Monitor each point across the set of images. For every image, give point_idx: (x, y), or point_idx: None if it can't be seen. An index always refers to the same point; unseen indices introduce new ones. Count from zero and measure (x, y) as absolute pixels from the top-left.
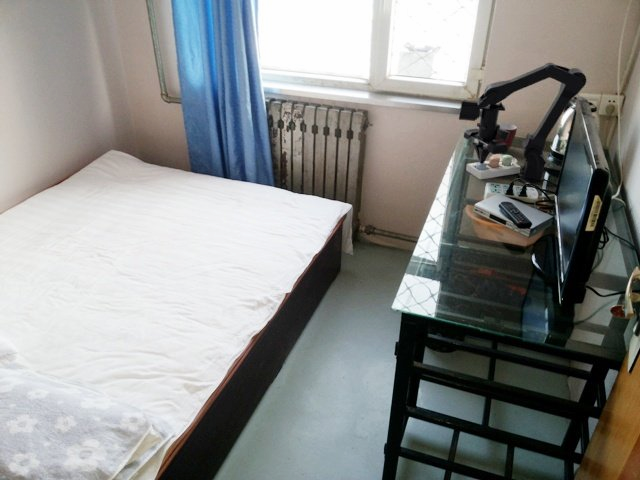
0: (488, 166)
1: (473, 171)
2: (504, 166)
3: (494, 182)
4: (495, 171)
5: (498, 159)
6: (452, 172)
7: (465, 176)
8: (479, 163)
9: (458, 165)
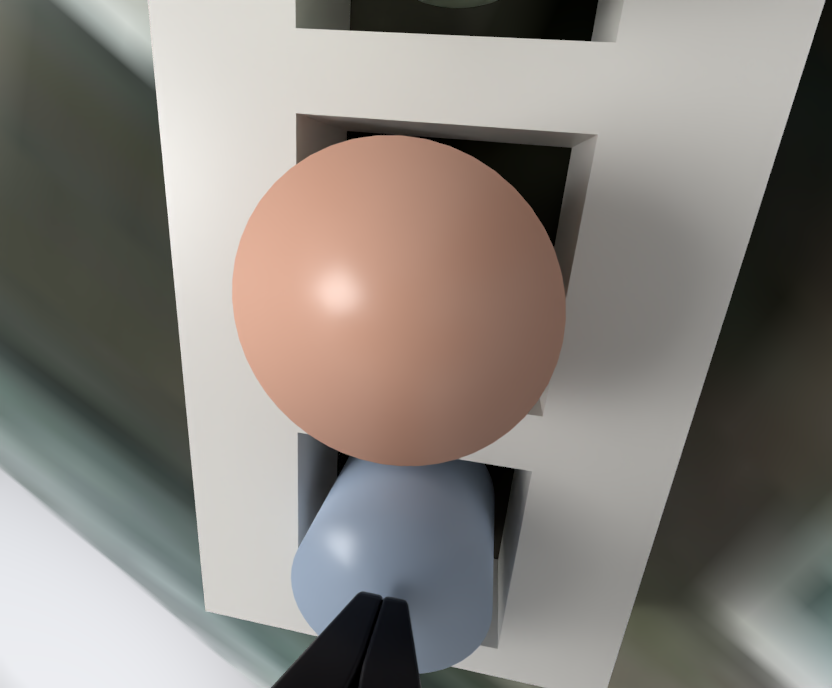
0: None
1: None
2: (617, 63)
3: (789, 523)
4: (674, 438)
5: (521, 276)
6: (263, 677)
7: None
8: (343, 601)
9: (101, 505)
